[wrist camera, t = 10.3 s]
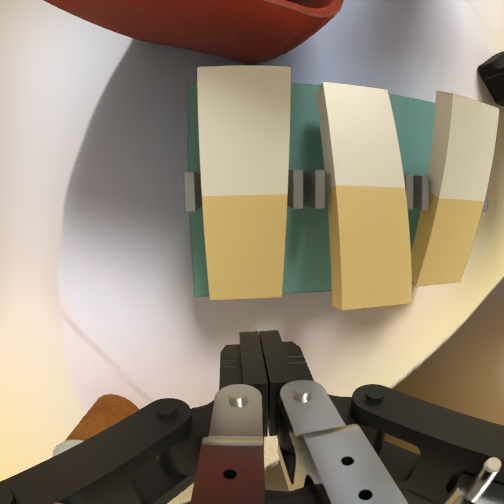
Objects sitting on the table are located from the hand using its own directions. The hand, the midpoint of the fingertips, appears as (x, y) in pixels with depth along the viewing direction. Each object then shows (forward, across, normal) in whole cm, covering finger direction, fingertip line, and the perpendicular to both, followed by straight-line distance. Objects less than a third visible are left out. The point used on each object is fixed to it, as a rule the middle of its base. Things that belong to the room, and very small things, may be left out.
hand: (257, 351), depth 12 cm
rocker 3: (+9, -16, -6) cm, 19 cm away
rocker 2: (+10, -8, -6) cm, 14 cm away
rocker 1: (+9, 0, -6) cm, 11 cm away
